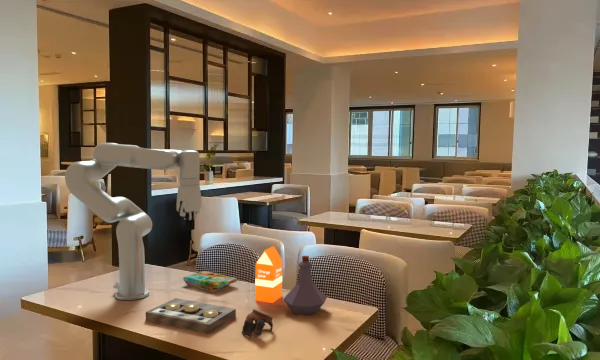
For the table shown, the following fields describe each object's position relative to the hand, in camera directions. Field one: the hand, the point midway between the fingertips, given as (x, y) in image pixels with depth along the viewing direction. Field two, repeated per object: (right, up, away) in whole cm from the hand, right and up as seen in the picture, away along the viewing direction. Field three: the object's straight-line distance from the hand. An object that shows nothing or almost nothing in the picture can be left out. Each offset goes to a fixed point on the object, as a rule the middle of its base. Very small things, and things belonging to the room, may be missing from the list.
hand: (189, 229), depth 182 cm
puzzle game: (+5, -26, +17) cm, 32 cm away
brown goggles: (+29, -30, -31) cm, 53 cm away
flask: (+45, -29, -10) cm, 54 cm away
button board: (+5, -29, -20) cm, 35 cm away
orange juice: (+31, -28, +3) cm, 41 cm away
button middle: (+5, -26, -20) cm, 34 cm away
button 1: (-2, -27, -17) cm, 32 cm away
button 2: (+12, -28, -23) cm, 38 cm away
